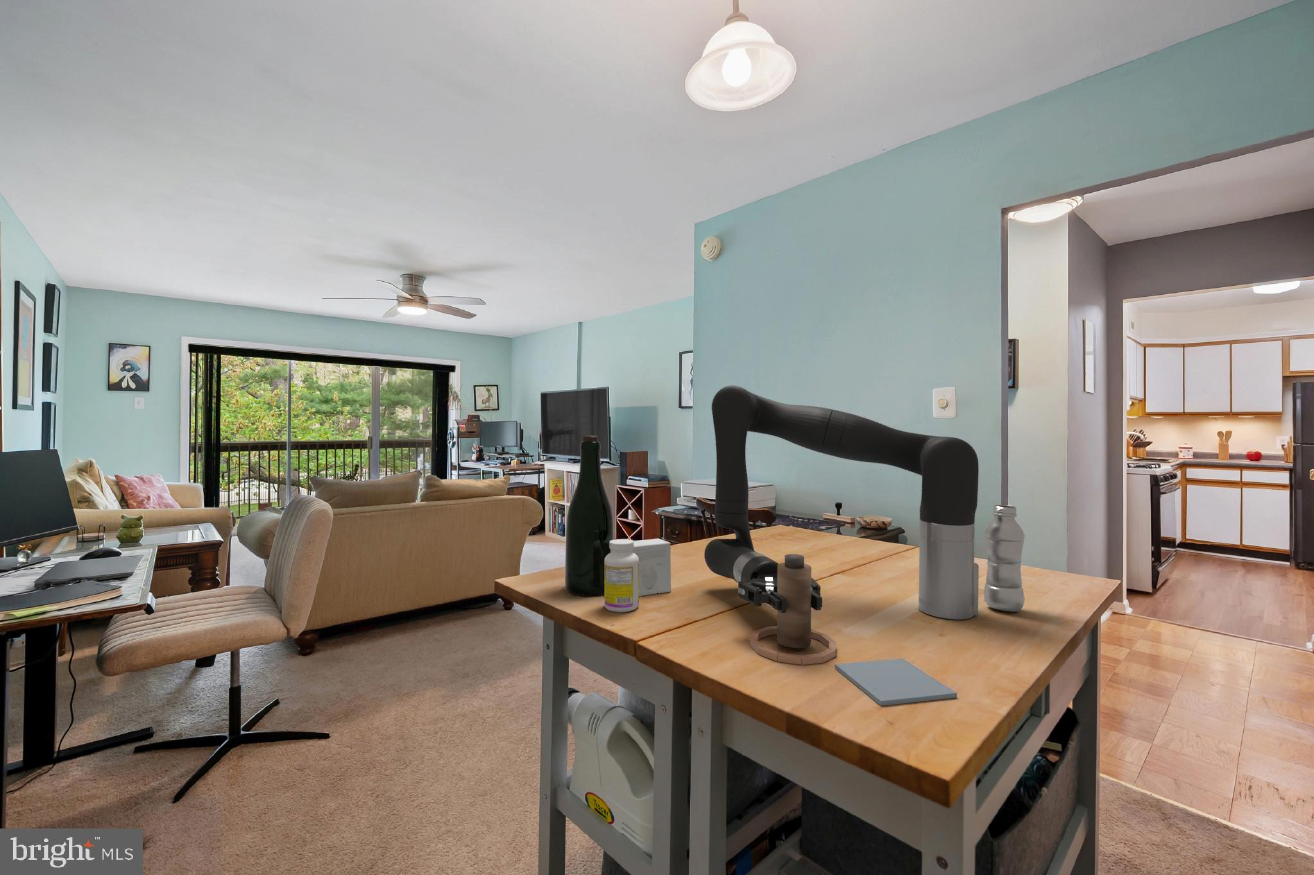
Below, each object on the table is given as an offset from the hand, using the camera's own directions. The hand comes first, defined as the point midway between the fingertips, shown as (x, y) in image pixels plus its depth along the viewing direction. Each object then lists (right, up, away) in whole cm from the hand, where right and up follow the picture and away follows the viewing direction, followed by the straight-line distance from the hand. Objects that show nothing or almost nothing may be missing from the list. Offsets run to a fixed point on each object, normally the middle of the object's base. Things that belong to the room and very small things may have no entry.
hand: (801, 605), depth 85 cm
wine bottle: (-37, -7, +33) cm, 50 cm away
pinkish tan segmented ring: (-1, -7, +3) cm, 8 cm away
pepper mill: (-1, -7, +3) cm, 7 cm away
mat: (+10, -8, -9) cm, 16 cm away
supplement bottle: (-29, -7, +21) cm, 37 cm away
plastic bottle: (+44, -8, +21) cm, 50 cm away
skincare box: (-25, -7, +32) cm, 42 cm away
